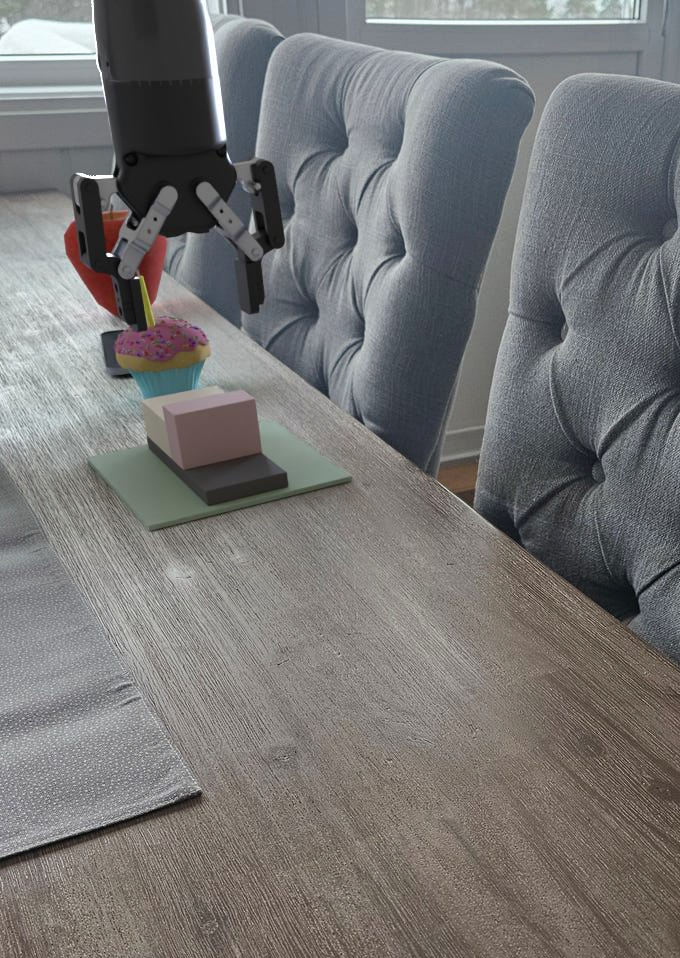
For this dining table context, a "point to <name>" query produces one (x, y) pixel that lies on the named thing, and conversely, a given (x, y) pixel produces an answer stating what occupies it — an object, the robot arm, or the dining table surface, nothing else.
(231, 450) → the blocks on dark base
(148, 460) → the mat
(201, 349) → the cupcake
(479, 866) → the dining table surface
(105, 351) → the smartphone
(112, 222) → the apple
